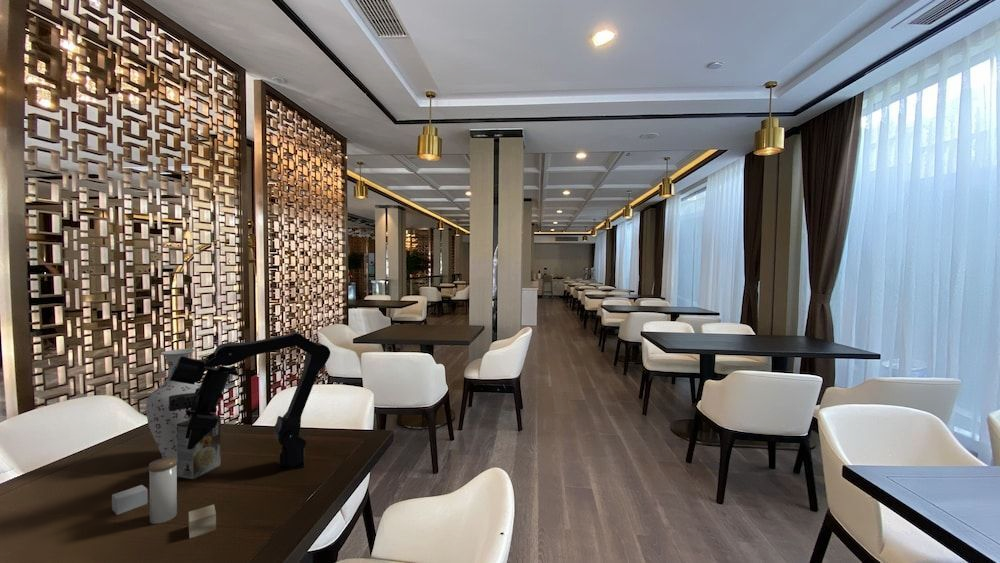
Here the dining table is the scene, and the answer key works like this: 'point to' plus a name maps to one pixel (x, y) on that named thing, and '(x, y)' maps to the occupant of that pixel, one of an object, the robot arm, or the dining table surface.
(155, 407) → the vase
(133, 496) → the grey block
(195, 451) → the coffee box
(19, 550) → the dining table surface
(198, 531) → the birch block
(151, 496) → the ceramic jar
